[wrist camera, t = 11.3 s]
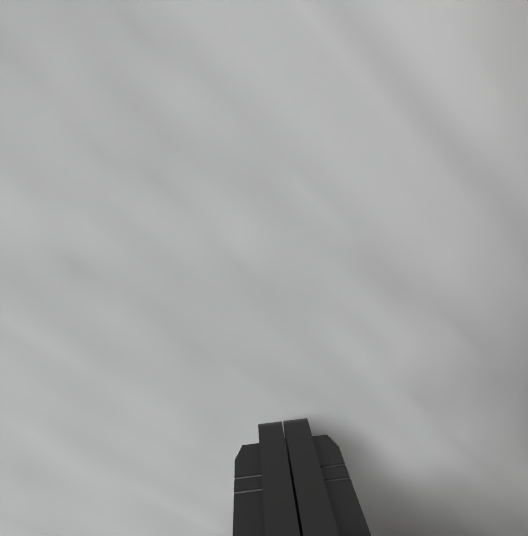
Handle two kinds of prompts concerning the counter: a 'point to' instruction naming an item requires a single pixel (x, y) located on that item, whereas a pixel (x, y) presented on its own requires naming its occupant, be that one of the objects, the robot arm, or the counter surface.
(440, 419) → the counter surface
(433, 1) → the counter surface
